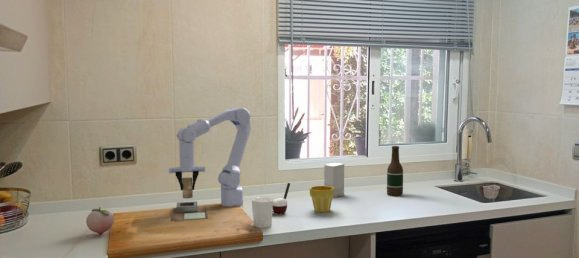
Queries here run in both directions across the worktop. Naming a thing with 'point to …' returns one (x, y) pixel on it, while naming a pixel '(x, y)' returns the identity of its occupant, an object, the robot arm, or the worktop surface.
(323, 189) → the plant pot
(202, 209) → the walnut board
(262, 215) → the white cup
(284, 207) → the cocoa
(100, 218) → the decorative fruit
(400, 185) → the beer bottle
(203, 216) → the pad
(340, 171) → the skincare box
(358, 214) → the worktop surface
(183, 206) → the grey square frame
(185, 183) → the maple peg
